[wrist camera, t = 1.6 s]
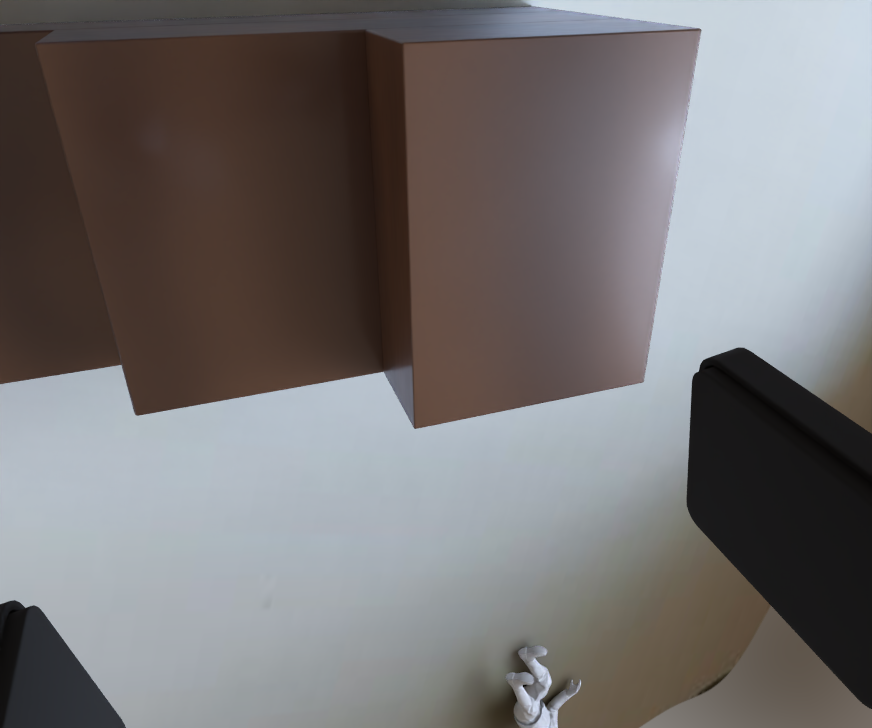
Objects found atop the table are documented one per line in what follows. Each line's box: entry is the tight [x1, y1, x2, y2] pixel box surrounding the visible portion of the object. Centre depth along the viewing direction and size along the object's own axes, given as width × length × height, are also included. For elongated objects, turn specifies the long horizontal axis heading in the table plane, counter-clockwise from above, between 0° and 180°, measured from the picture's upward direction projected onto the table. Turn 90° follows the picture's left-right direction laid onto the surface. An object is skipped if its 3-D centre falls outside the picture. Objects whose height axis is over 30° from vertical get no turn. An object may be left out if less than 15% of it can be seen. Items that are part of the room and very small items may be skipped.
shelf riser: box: [0, 7, 701, 429], centre depth 24 cm, size 27×12×11 cm, turn 90°
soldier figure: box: [505, 645, 581, 728], centre depth 52 cm, size 8×5×12 cm
